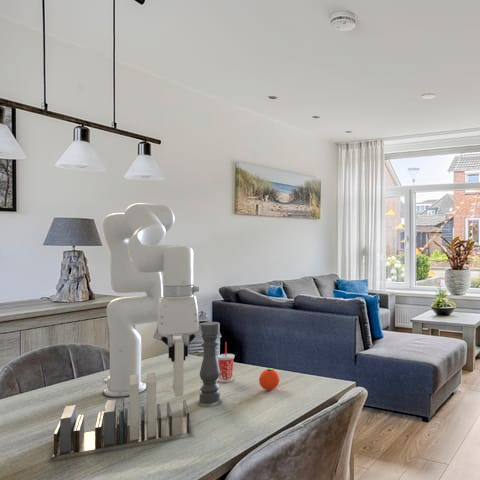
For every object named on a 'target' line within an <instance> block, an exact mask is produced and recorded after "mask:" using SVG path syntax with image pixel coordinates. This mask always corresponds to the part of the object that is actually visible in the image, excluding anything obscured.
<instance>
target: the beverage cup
mask: <svg viewBox="0 0 480 480" xmlns="http://www.w3.org/2000/svg"><path fill="white" fill-rule="evenodd" d="M224 343H225V344H224V353H221V354H218V355H216V357H217V361H218V365H219V369H220V376H219V378H218V382H219V383H230V382H232V381H233V377H234V376H233V375H234V363H235V362H234V361H235V360H234V359H235V356H236V355H235V354H233V353H228V352H227V350H228V349H227V341H225V342H224Z"/></svg>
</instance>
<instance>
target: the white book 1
mask: <svg viewBox="0 0 480 480" xmlns="http://www.w3.org/2000/svg"><path fill="white" fill-rule="evenodd" d="M139 403H140V393H139V374H136V375H130V395H129V426H130V441H131V440H137V439H139V424H140V421H139V418H140V415H139V414H140V413H139V411H140V410H139V409H140V408H139V407H140V405H139Z"/></svg>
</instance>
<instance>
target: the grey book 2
mask: <svg viewBox="0 0 480 480" xmlns="http://www.w3.org/2000/svg"><path fill="white" fill-rule="evenodd" d="M116 423H117V399H108V400H106V401H105V406H104V445H108V444H114V440H115V431H116Z"/></svg>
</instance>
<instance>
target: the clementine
mask: <svg viewBox="0 0 480 480" xmlns="http://www.w3.org/2000/svg"><path fill="white" fill-rule="evenodd" d="M280 381H281V379H280V374H279V373H278V371H276V369H274V368H273V367H271V368H267V369H264V370H263V371H262V372H261V373H260V375H259V378H258V382H259V385H260V387H261V388H262V389H264V390H266V391H271V390H274V389H275V388H277V386H278V385H279V384H280Z"/></svg>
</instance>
